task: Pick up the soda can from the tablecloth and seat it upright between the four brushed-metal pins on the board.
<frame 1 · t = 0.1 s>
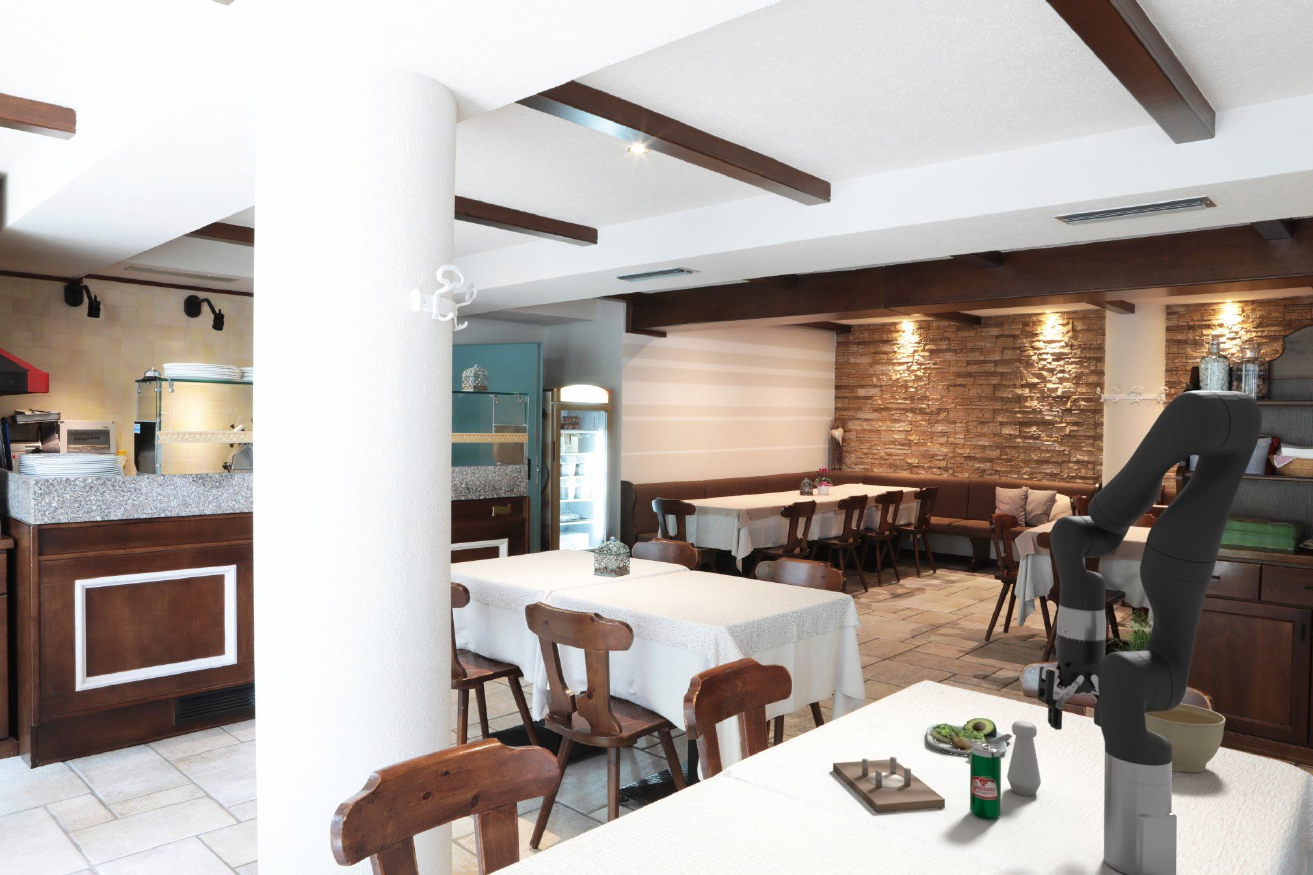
hand: (1077, 726, 149), 17 cm above the table, tool pointing down, fingers open, 8 cm apart
soda can: (985, 815, 154), on the table
pin board: (885, 787, 165), on the table
salt shaker: (1023, 792, 164), on the table
planter bowl: (1178, 765, 179), on the table
salad plate: (967, 745, 190), on the table
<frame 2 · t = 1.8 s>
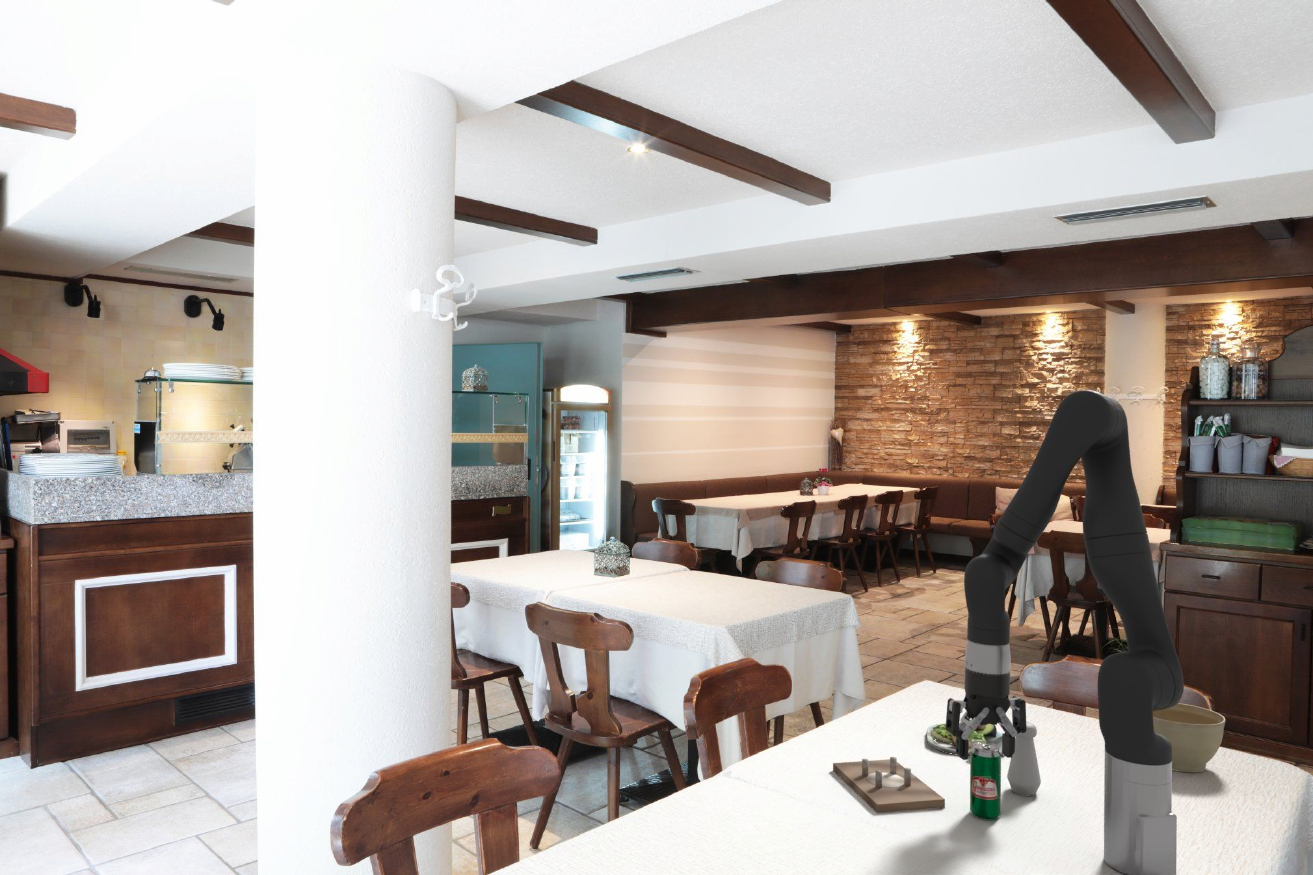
hand: (985, 757, 154), 10 cm above the table, tool pointing down, fingers open, 8 cm apart
nothing on the table moved.
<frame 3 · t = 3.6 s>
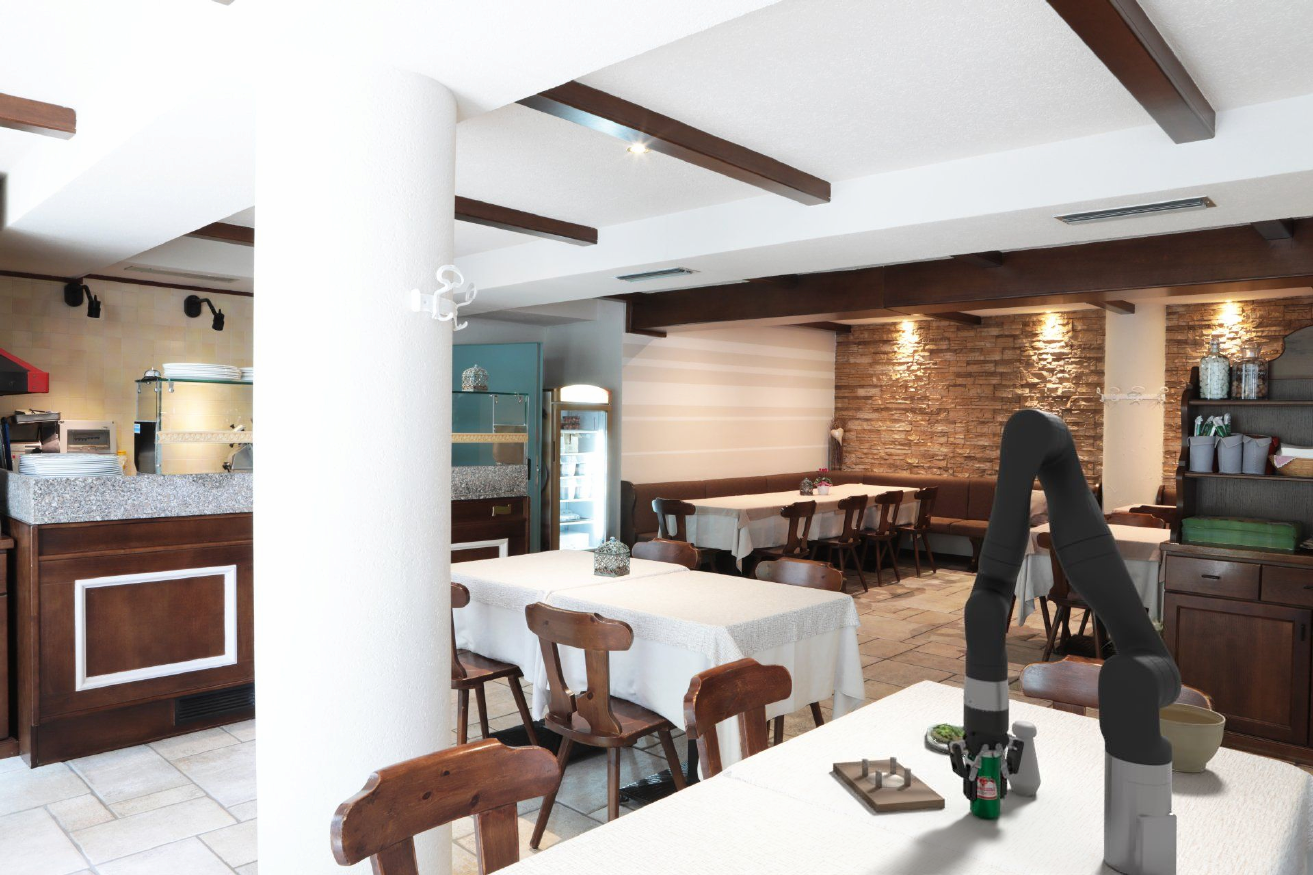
hand: (985, 797, 154), 3 cm above the table, tool pointing down, fingers closed on soda can, 5 cm apart
soda can: (985, 815, 154), on the table, touching gripper
everything else where it was.
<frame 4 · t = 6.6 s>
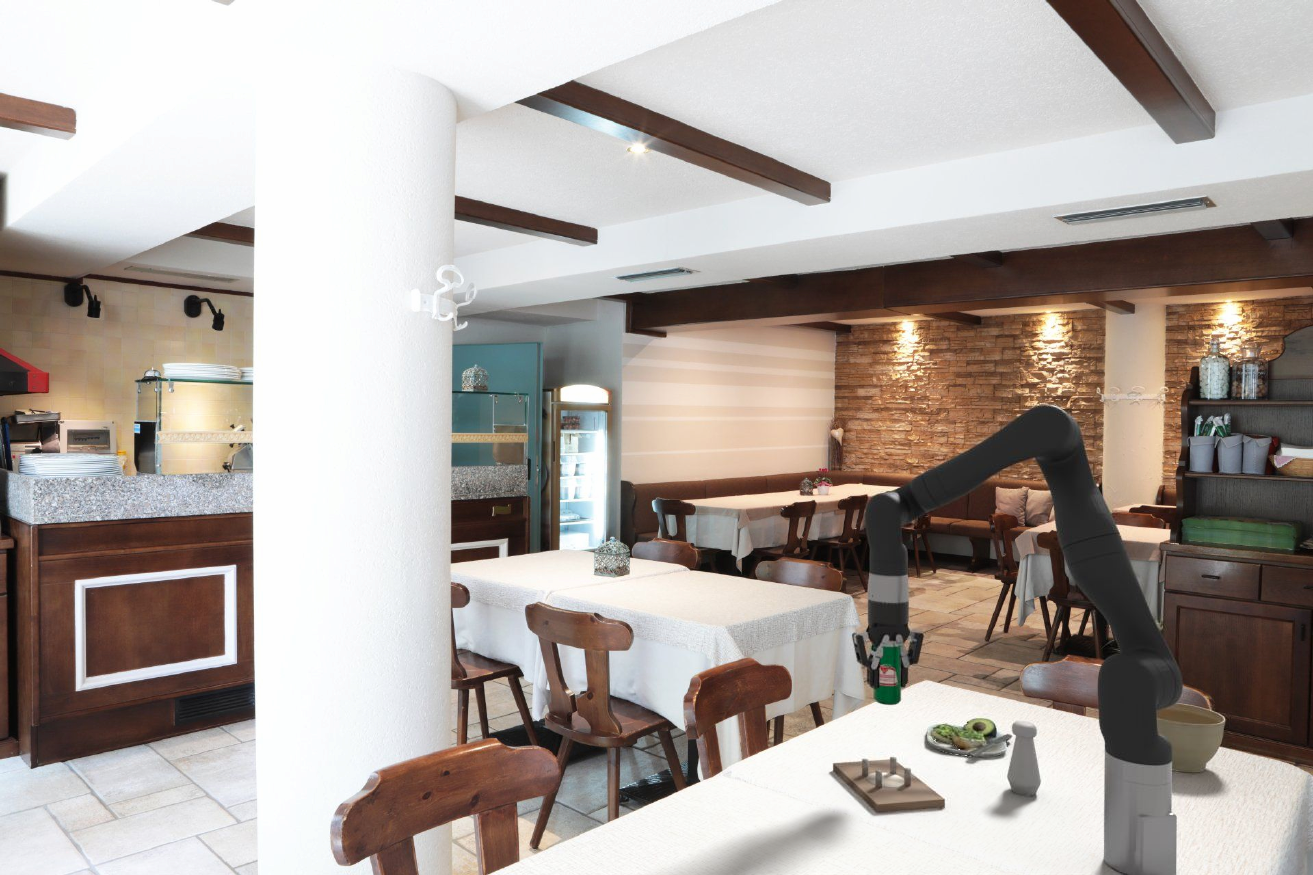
hand: (887, 686, 165), 19 cm above the table, tool pointing down, fingers closed on soda can, 5 cm apart
soda can: (887, 702, 165), point 16 cm above the table, touching gripper
everything else where it was.
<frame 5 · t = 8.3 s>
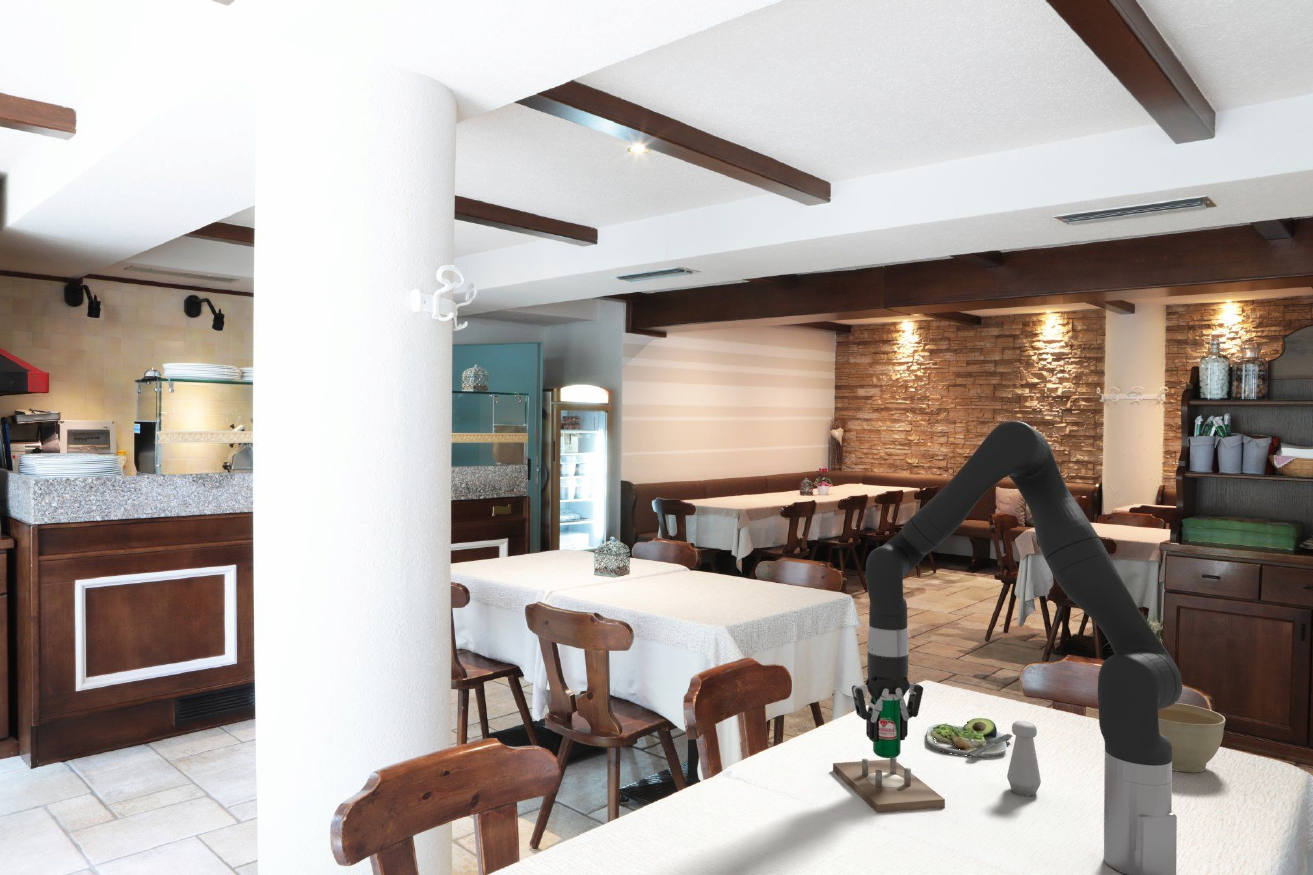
hand: (887, 739, 165), 9 cm above the table, tool pointing down, fingers closed on soda can, 5 cm apart
soda can: (886, 755, 165), point 6 cm above the table, touching gripper
everything else where it was.
when the fingers open (6 cm above the table, at t = 9.9 s): soda can drops 1 cm, resting on pin board.
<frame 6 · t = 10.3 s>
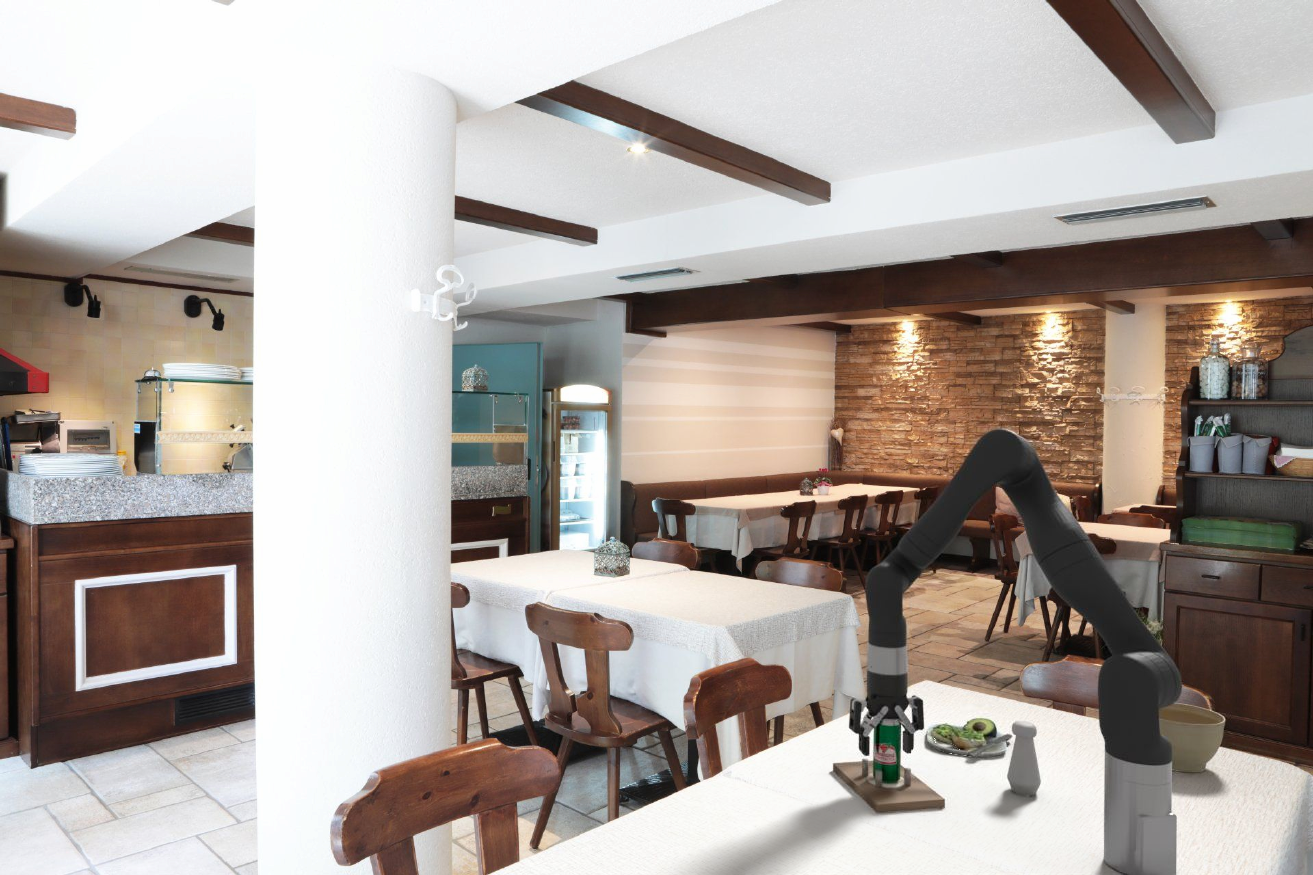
hand: (886, 753, 165), 7 cm above the table, tool pointing down, fingers open, 8 cm apart
soda can: (886, 780, 165), point 1 cm above the table, touching pin board
everything else where it was.
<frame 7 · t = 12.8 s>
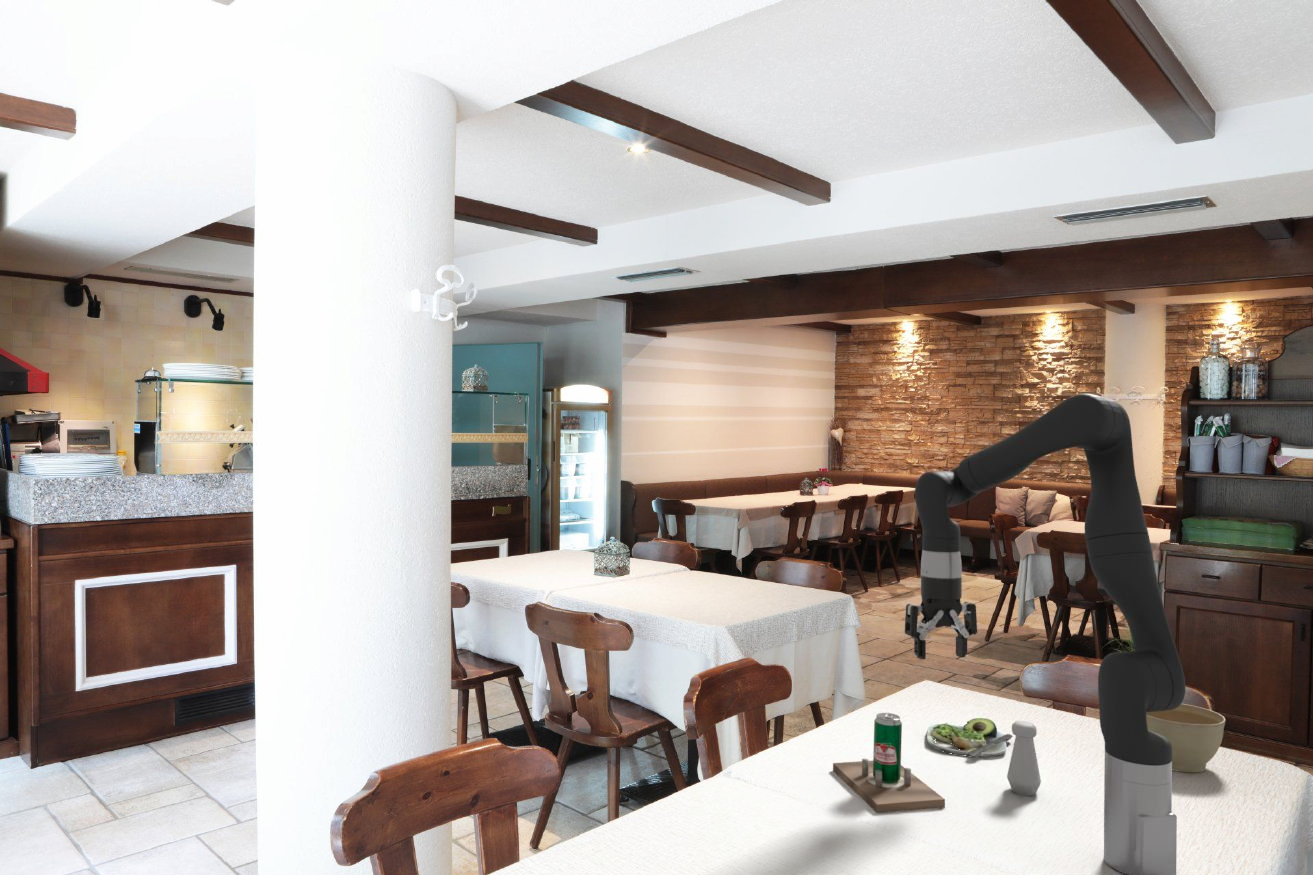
hand: (940, 657, 169), 24 cm above the table, tool pointing down, fingers open, 8 cm apart
nothing on the table moved.
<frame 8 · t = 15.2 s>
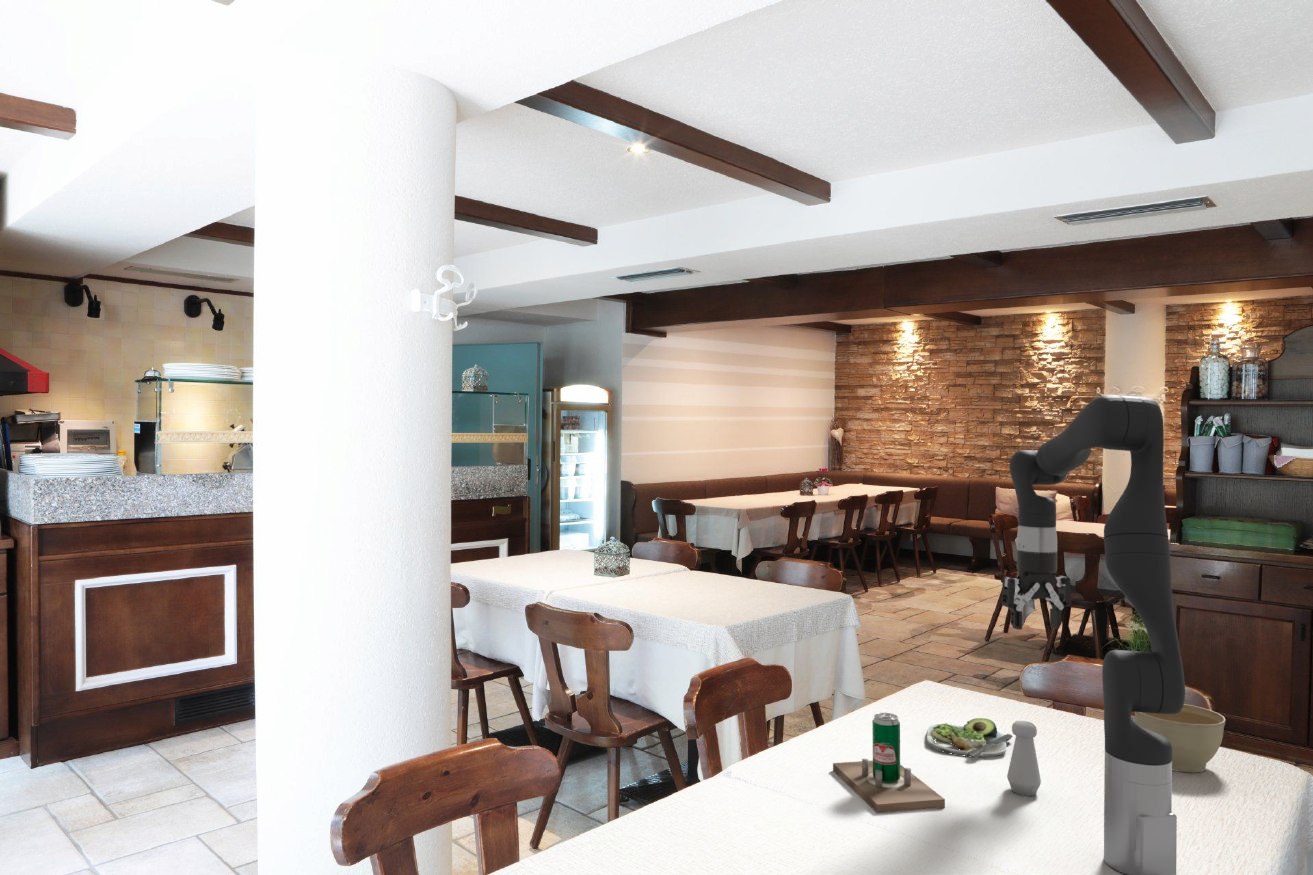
hand: (1036, 628, 177), 28 cm above the table, tool pointing down, fingers open, 8 cm apart
nothing on the table moved.
at the end: soda can 0.1 cm off-centre on the pin board, point 1.4 cm above the pin board's base; soda can tilted 1°; the gripper is holding nothing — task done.
